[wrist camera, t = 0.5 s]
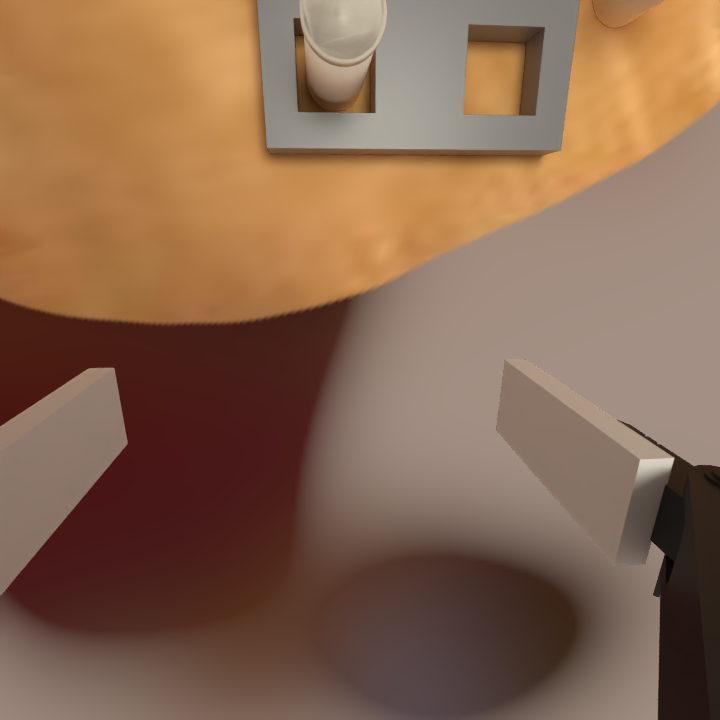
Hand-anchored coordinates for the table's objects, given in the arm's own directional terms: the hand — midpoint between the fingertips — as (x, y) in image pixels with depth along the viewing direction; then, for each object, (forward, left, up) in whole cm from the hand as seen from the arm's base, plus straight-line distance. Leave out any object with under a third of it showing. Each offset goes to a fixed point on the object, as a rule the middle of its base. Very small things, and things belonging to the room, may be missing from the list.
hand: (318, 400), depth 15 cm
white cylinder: (-17, +2, -27) cm, 32 cm away
